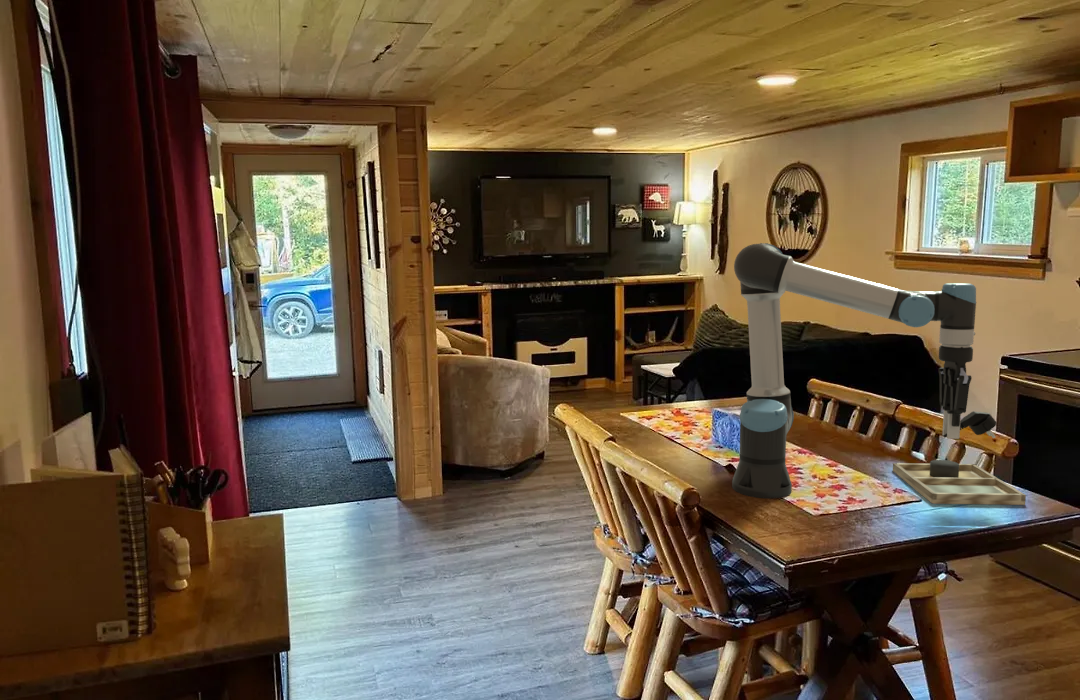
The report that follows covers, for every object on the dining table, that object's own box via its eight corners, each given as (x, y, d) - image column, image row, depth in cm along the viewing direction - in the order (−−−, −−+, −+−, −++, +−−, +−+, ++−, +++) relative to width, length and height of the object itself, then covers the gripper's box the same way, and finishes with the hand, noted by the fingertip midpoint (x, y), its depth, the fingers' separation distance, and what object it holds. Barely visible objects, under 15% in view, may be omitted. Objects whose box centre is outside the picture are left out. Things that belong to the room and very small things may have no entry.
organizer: (932, 503, 192) (932, 493, 192) (892, 471, 219) (893, 463, 219) (1025, 504, 191) (1025, 495, 190) (973, 472, 217) (974, 464, 217)
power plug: (938, 432, 200) (979, 404, 197) (956, 455, 200) (998, 427, 197) (945, 436, 194) (987, 408, 192) (964, 460, 194) (1007, 432, 192)
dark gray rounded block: (936, 479, 208) (937, 467, 207) (925, 472, 215) (925, 459, 214) (963, 479, 207) (964, 466, 207) (951, 472, 214) (951, 459, 214)
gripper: (986, 349, 186) (980, 444, 189) (958, 341, 201) (953, 430, 204) (953, 349, 186) (948, 444, 190) (928, 341, 201) (923, 429, 204)
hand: (950, 436), depth 197 cm, fingers closed on power plug, 2 cm apart
